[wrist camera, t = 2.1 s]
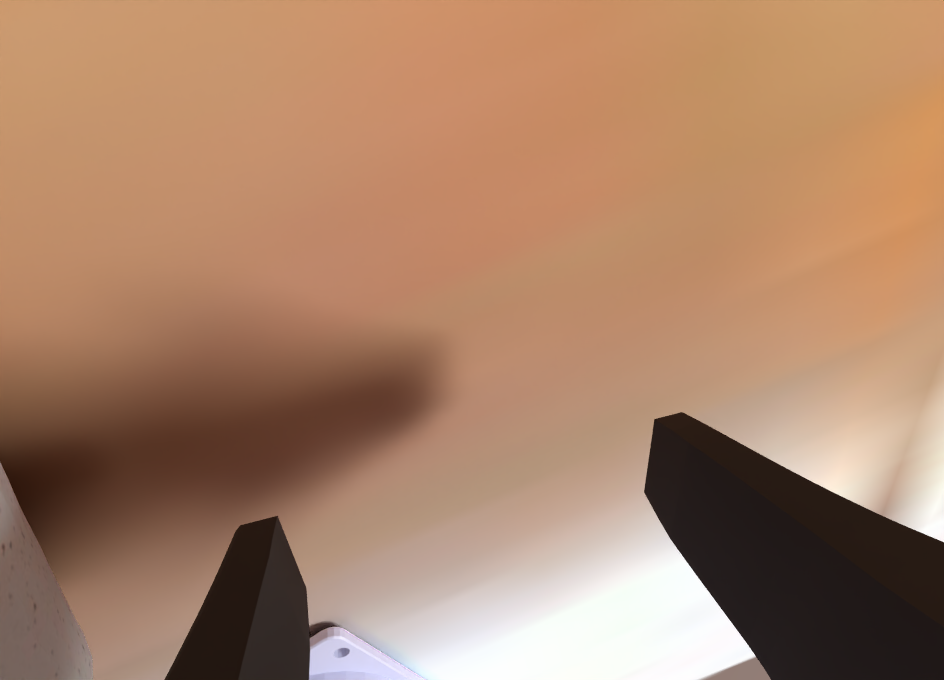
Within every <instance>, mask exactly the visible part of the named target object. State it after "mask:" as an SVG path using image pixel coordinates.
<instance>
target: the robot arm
mask: <svg viewBox="0 0 944 680" xmlns="http://www.w3.org/2000/svg"><path fill="white" fill-rule="evenodd" d="M644 493H645V495H646V496H647V498H648V500H649V502H650V504H651V506H652V507H653V509H654V511H655V513H656V515H657V517H658V518H659V520H660V522H661V524H662V525H663V527H664V529H665V530H666V532H667V534H668V536H669V537H670V539H671V540H672V542H673V543H674V545H675V546H676V547H677V549H678V550H679V552H680V553H681V554H682V556H683V557H684V558H685V560H686V561H687V563H688V564H689V565H690V567H691V568H692V569H693V571H694V572H695V574H696V575H697V576H698V578H699V579H700V580H701V582H702V583H703V584H704V586H705V587H706V588H707V590H708V591H709V593H710V594H711V595H712V597H713V598H714V599H715V601H716V602H717V603H718V605H719V606H720V607H721V609H722V610H723V611H724V613H725V614H726V616H727V617H728V618H729V620H730V621H731V622H732V624H733V625H734V626H735V628H736V629H737V630H738V632H739V633H740V634H741V636H742V637H743V639H744V640H745V641H746V643H747V644H748V645H749V647H750V648H751V650H752V651H753V653H754V654H755V656H756V657H757V658H758V660H759V661H760V663H761V664H762V666H763V667H764V669H765V670H766V672H767V674H768V675H769V677H770V678H771V680H944V542H942V541H939V540H937V539H935V538H932V537H930V536H927V535H925V534H923V533H920V532H918V531H916V530H913V529H911V528H908V527H906V526H904V525H901V524H899V523H897V522H895V521H892V520H890V519H888V518H886V517H883V516H881V515H879V514H877V513H875V512H873V511H871V510H868V509H866V508H864V507H862V506H860V505H858V504H856V503H854V502H852V501H850V500H848V499H846V498H843V497H841V496H839V495H837V494H835V493H833V492H831V491H829V490H827V489H825V488H823V487H821V486H819V485H817V484H815V483H813V482H811V481H809V480H807V479H806V478H804V477H802V476H800V475H798V474H796V473H794V472H792V471H790V470H788V469H786V468H785V467H783V466H781V465H779V464H777V463H775V462H773V461H772V460H770V459H768V458H766V457H764V456H762V455H760V454H759V453H757V452H755V451H753V450H751V449H749V448H748V447H746V446H744V445H742V444H740V443H739V442H737V441H735V440H733V439H731V438H729V437H728V436H726V435H724V434H722V433H720V432H719V431H717V430H715V429H713V428H711V427H709V426H708V425H706V424H704V423H702V422H700V421H698V420H696V419H694V418H692V417H690V416H688V415H687V414H685V413H682V412H681V413H677V414H673V415H669V416H665V417H661V418H658V419H655V420H654V427H653V434H652V441H651V448H650V455H649V462H648V469H647V476H646V483H645V490H644ZM165 680H426V679H424V678H422V677H421V676H419V675H418V674H416V673H414V672H413V671H411V670H410V669H408V668H406V667H405V666H403V665H402V664H400V663H398V662H397V661H395V660H393V659H392V658H390V657H389V656H387V655H385V654H384V653H382V652H381V651H379V650H377V649H376V648H374V647H372V646H371V645H369V644H368V643H366V642H364V641H363V640H361V639H360V638H358V637H356V636H355V635H353V634H352V633H350V632H348V631H347V630H345V629H343V628H341V627H329V628H326V629H324V630H322V631H320V632H319V633H317V634H316V635H314V636H312V637H311V638H310V637H309V620H308V605H307V591H306V586H305V584H304V581H303V579H302V576H301V574H300V571H299V569H298V566H297V564H296V561H295V559H294V556H293V554H292V551H291V549H290V546H289V544H288V541H287V539H286V536H285V534H284V531H283V529H282V526H281V523H280V521H279V518H278V516H275V517H271V518H267V519H263V520H260V521H256V522H252V523H248V524H244V525H240V527H239V528H238V529H237V530H236V532H235V534H234V536H233V538H232V541H231V543H230V545H229V548H228V550H227V552H226V555H225V557H224V559H223V561H222V564H221V566H220V568H219V570H218V573H217V575H216V577H215V579H214V581H213V584H212V586H211V588H210V590H209V592H208V594H207V596H206V598H205V600H204V603H203V605H202V607H201V609H200V611H199V613H198V615H197V617H196V619H195V621H194V623H193V625H192V627H191V629H190V631H189V633H188V635H187V637H186V639H185V641H184V643H183V645H182V647H181V649H180V651H179V653H178V655H177V657H176V659H175V661H174V663H173V665H172V666H171V668H170V670H169V672H168V674H167V676H166V678H165Z"/></svg>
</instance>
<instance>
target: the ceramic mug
mask: <svg viewBox="0 0 944 680" xmlns="http://www.w3.org/2000/svg"><path fill="white" fill-rule="evenodd" d="M0 680H93V665H92V656H91V653H90V650H89V647H88V644H87V641H86V639H85V636H84V633H83V631H82V629H81V628H80V626H79V624H78V622H77V621H76V619H75V617H74V615H73V613H72V611H71V609H70V607H69V605H68V603H67V601H66V599H65V596H64V594H63V592H62V590H61V588H60V586H59V584H58V582H57V580H56V578H55V576H54V574H53V572H52V570H51V568H50V566H49V564H48V561H47V559H46V557H45V555H44V553H43V551H42V549H41V547H40V545H39V543H38V541H37V539H36V537H35V535H34V533H33V531H32V529H31V527H30V525H29V523H28V521H27V520H26V518H25V516H24V514H23V512H22V510H21V508H20V505H19V503H18V501H17V498H16V496H15V494H14V492H13V489H12V487H11V485H10V482H9V480H8V478H7V476H6V474H5V471H4V469H3V467H2V465H1V463H0Z"/></svg>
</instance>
